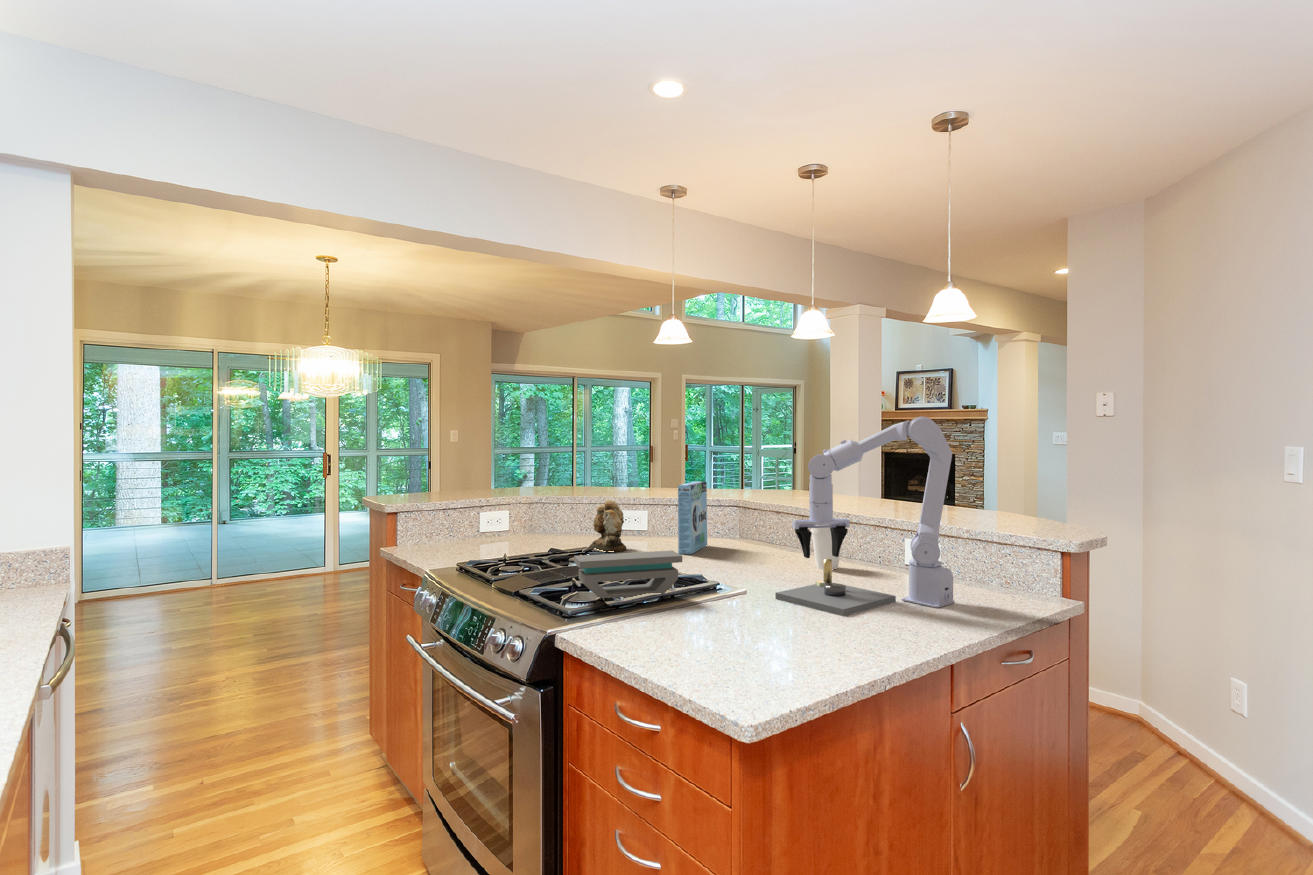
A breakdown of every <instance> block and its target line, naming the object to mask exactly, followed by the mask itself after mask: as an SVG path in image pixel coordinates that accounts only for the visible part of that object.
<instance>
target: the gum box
mask: <svg viewBox="0 0 1313 875" xmlns="http://www.w3.org/2000/svg"><path fill="white" fill-rule="evenodd" d="M707 489H708V488H707V481H692V482H687V483H683V484H678V485H677V502H678V503H677V514H678V515H677V521H678V523H677V524H678V525H677V526H678V527H677V529H678V530H677V531H678V532H677V533H678V540H677V542H678V549H677V550H678V552H677V553H678V554H680V555H692V554H695V553H696V552H697V551H699V550H702V549H703V548H705V547H707V546H708V502H707V501H708V500H707V499H708V497H707V496H708V495H707V493H708V490H707ZM706 545H707V546H706ZM701 548H702V549H701Z"/></svg>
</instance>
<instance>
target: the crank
mask: <svg viewBox="0 0 1313 875" xmlns="http://www.w3.org/2000/svg"><path fill="white" fill-rule="evenodd" d="M832 573H833V570H832V559H824V570H823V582H825V585H824V594H826V595H829V596H844V595H846V586H845V584H843V583H836V582H833V583H831V582H832V581H833V575H832Z"/></svg>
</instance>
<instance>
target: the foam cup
mask: <svg viewBox="0 0 1313 875" xmlns="http://www.w3.org/2000/svg"><path fill="white" fill-rule="evenodd" d="M815 526H822V525H815ZM810 531H811V532H812V534H811V538H812V539H811V540H812V545H813V552H814V553H813V554H814V561H815V566H816V567H817V568H819V569H818V570H820V569H824V559H832V569H837V568H838V569H839V564H840V555H841V548H842V547H841V548H840V551H839V556H838V557H835V556H832V537H831V531H830V528H810ZM816 567H815V568H816ZM817 568H816V569H817ZM838 569H837V570H838Z"/></svg>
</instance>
